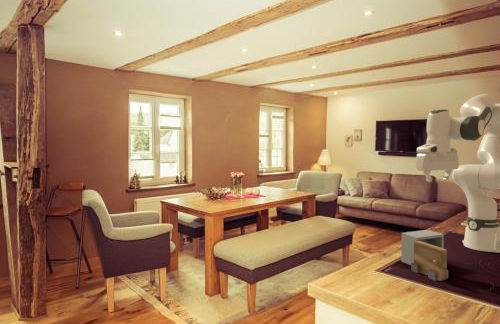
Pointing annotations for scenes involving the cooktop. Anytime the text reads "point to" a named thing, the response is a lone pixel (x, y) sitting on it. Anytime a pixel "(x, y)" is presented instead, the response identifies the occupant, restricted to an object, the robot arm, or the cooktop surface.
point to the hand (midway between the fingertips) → (437, 180)
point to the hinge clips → (431, 273)
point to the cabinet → (414, 236)
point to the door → (430, 259)
